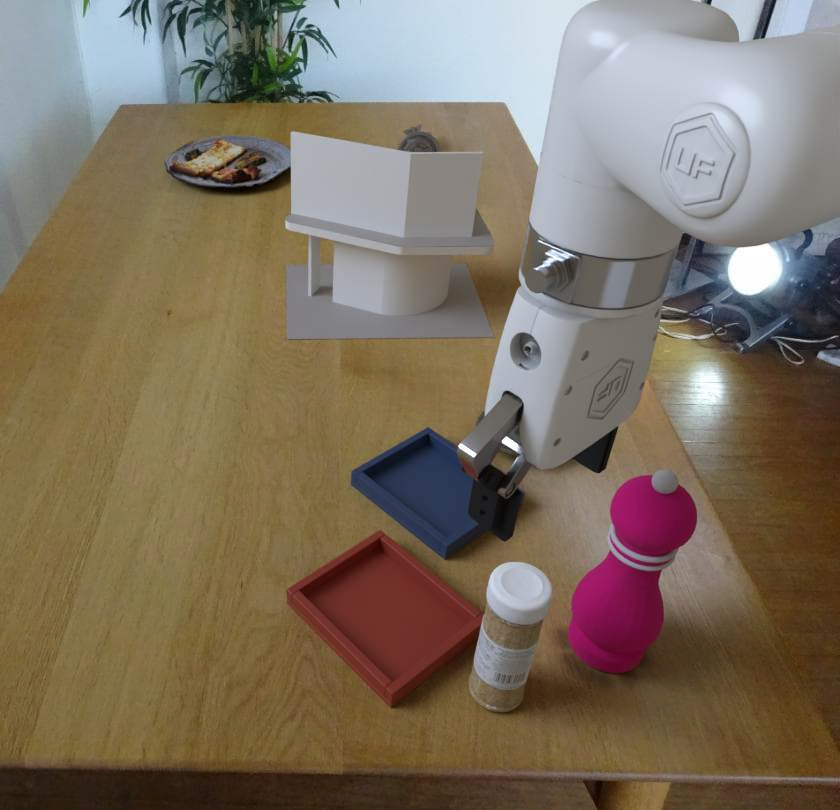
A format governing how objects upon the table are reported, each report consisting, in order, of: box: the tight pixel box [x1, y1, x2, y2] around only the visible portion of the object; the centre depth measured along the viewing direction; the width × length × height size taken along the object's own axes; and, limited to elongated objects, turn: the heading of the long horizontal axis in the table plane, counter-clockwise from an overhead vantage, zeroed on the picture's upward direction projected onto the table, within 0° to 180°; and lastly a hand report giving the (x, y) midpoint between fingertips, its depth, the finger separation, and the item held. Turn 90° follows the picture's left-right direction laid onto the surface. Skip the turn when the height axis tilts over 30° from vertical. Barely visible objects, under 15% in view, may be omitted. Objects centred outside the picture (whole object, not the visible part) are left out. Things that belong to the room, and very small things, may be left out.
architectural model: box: [284, 131, 496, 340], centre depth 110 cm, size 28×21×23 cm
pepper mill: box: [567, 469, 698, 674], centre depth 64 cm, size 7×7×20 cm
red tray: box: [286, 529, 485, 709], centre depth 72 cm, size 14×12×2 cm
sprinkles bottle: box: [467, 561, 554, 713], centre depth 62 cm, size 5×5×14 cm
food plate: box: [164, 134, 291, 190], centre depth 154 cm, size 25×23×4 cm
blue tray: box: [350, 426, 526, 560], centre depth 84 cm, size 14×12×2 cm
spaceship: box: [397, 123, 441, 152], centre depth 152 cm, size 8×35×8 cm
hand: (537, 492), depth 53 cm, fingers open, 9 cm apart
